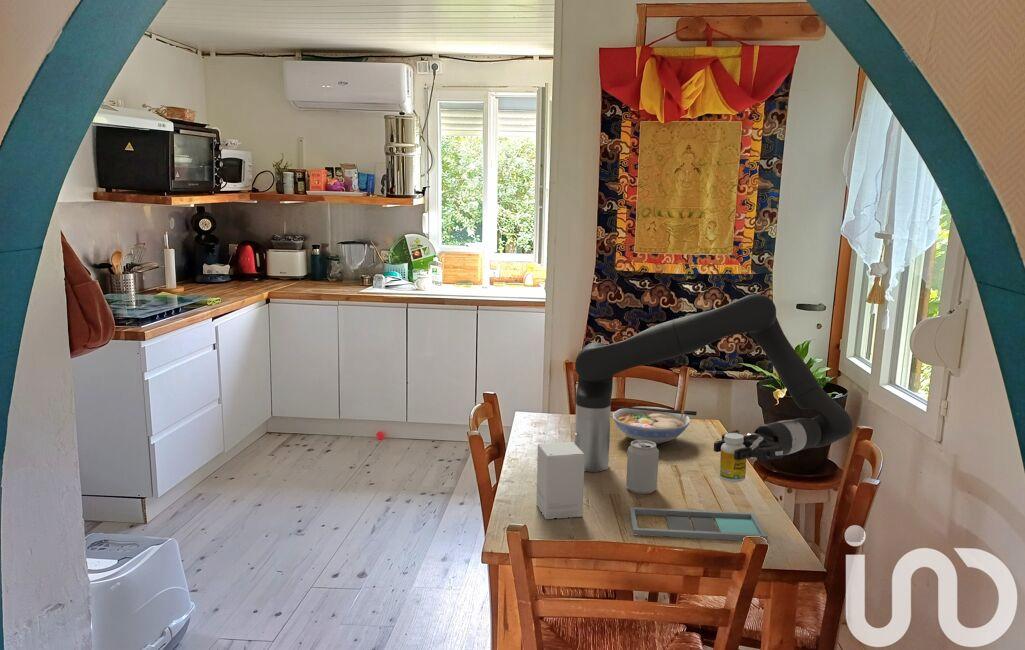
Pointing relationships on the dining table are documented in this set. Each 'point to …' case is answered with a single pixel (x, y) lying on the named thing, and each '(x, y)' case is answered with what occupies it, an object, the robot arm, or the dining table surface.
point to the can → (642, 467)
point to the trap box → (701, 524)
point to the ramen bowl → (652, 423)
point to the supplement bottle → (732, 459)
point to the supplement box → (560, 480)
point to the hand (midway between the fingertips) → (725, 451)
